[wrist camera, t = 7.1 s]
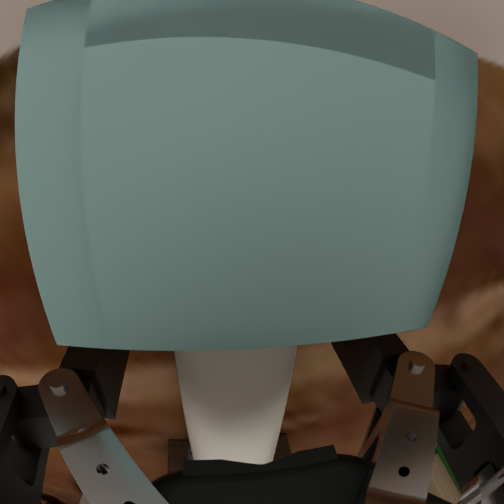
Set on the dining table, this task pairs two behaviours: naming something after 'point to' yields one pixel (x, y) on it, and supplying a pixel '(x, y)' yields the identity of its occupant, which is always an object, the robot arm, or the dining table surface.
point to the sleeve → (182, 451)
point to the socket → (239, 170)
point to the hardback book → (443, 480)
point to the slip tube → (235, 401)
